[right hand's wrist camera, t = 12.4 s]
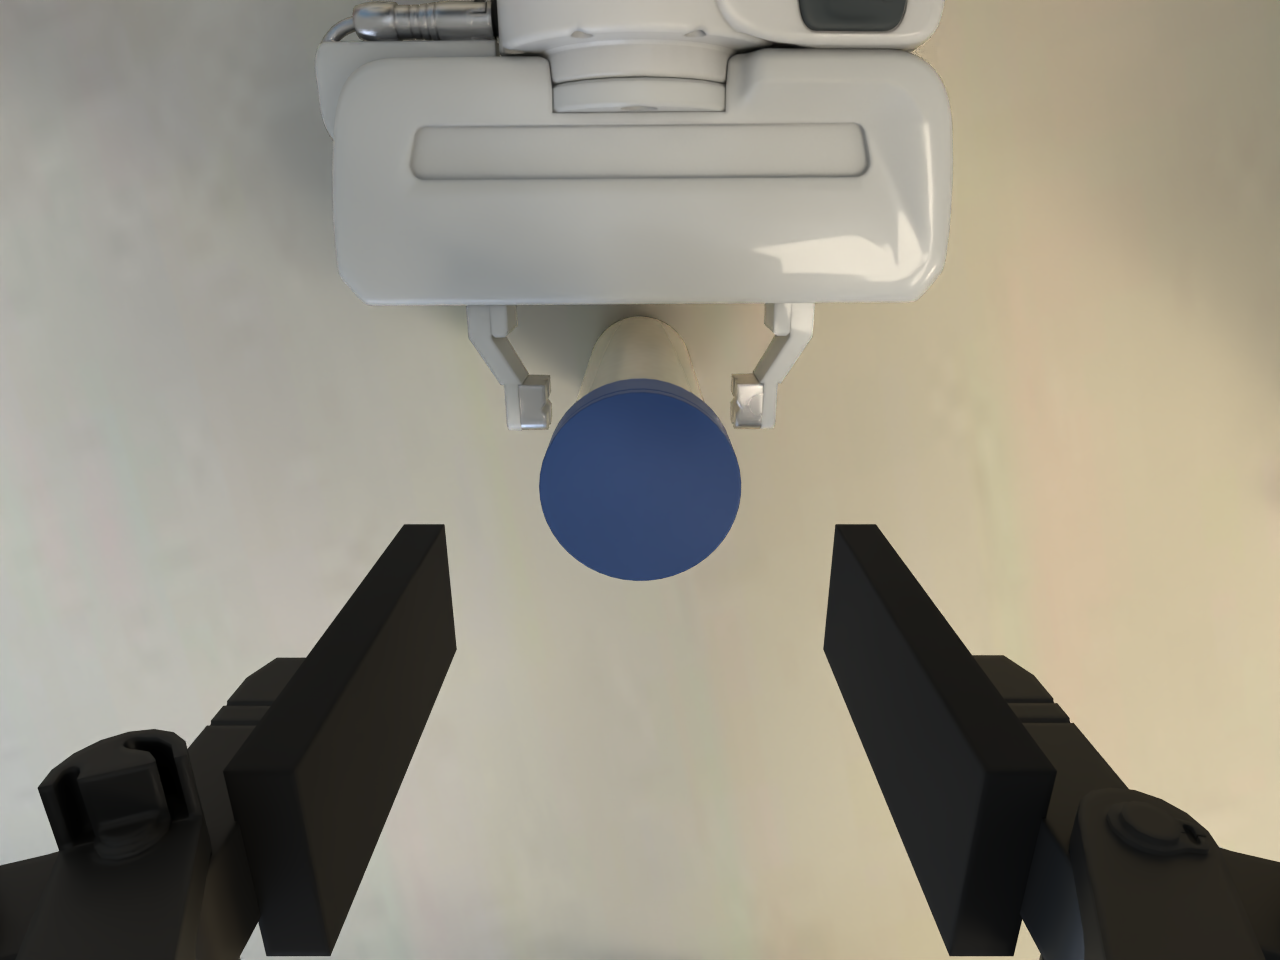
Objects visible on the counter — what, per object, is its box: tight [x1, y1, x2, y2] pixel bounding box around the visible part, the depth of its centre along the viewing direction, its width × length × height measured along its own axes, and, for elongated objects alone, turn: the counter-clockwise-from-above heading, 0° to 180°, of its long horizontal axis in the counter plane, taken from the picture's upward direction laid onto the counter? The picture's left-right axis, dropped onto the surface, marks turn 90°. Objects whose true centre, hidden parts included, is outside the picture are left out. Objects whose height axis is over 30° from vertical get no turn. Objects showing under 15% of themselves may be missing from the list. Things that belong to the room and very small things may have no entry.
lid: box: [539, 378, 741, 581], centre depth 20 cm, size 5×5×2 cm
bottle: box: [576, 316, 704, 402], centre depth 27 cm, size 4×4×15 cm
